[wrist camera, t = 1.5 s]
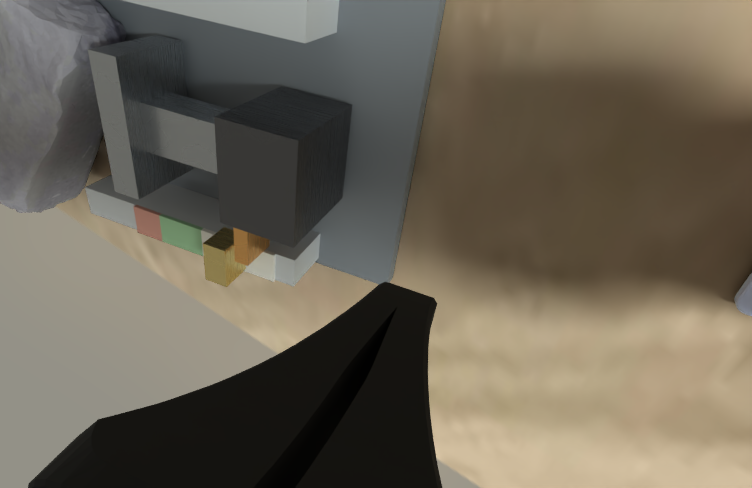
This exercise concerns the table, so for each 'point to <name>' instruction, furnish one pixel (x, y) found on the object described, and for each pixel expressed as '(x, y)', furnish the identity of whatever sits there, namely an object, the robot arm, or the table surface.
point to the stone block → (49, 98)
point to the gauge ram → (221, 143)
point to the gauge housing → (307, 74)
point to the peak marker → (221, 258)
